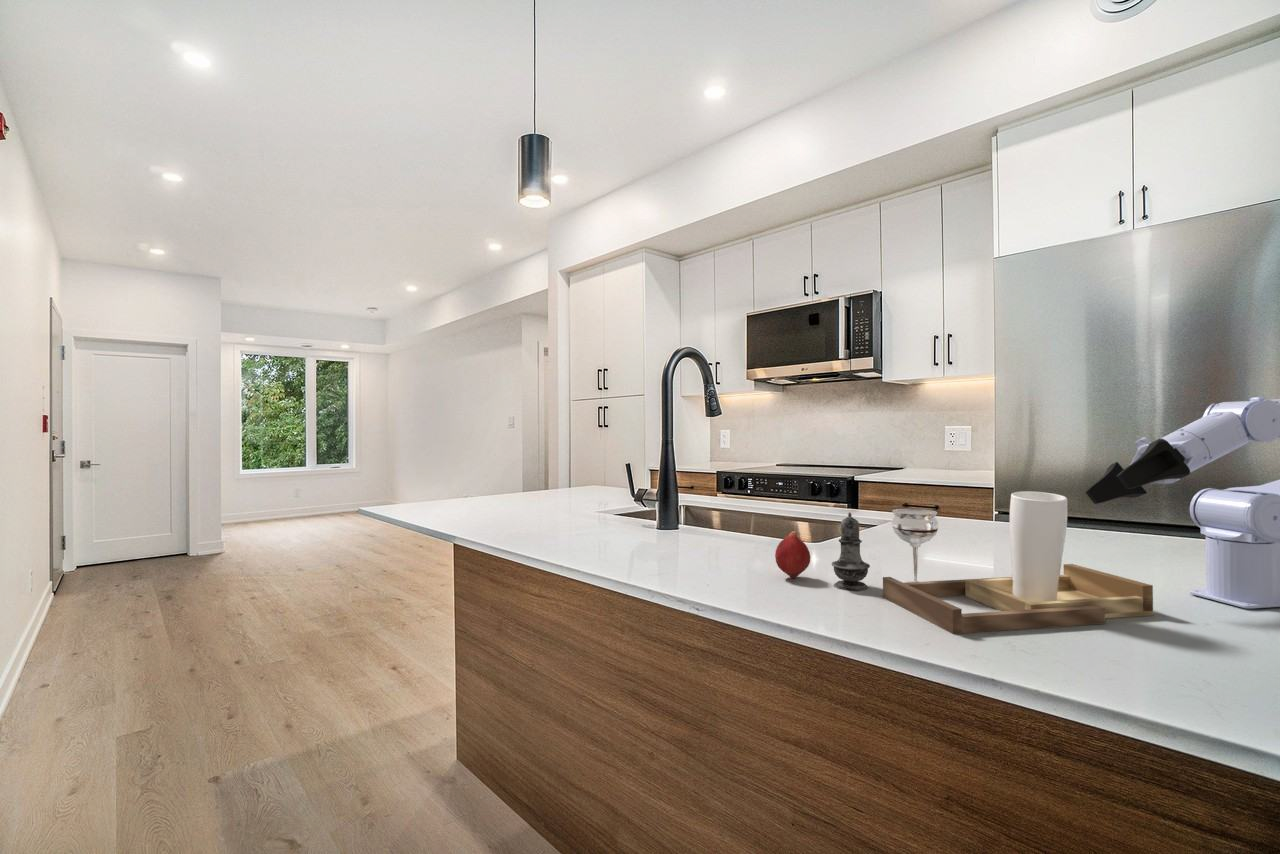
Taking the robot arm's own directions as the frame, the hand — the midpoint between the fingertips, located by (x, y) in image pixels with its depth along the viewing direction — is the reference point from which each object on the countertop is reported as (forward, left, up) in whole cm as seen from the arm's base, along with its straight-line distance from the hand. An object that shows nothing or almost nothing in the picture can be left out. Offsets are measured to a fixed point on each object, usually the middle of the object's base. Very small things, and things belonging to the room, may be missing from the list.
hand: (1106, 490), depth 87 cm
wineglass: (+20, -15, -17) cm, 30 cm away
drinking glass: (+10, -2, -16) cm, 19 cm away
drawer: (+7, -2, -16) cm, 18 cm away
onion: (+37, -24, -17) cm, 47 cm away
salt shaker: (+30, -17, -17) cm, 38 cm away
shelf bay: (+17, -2, -16) cm, 24 cm away
